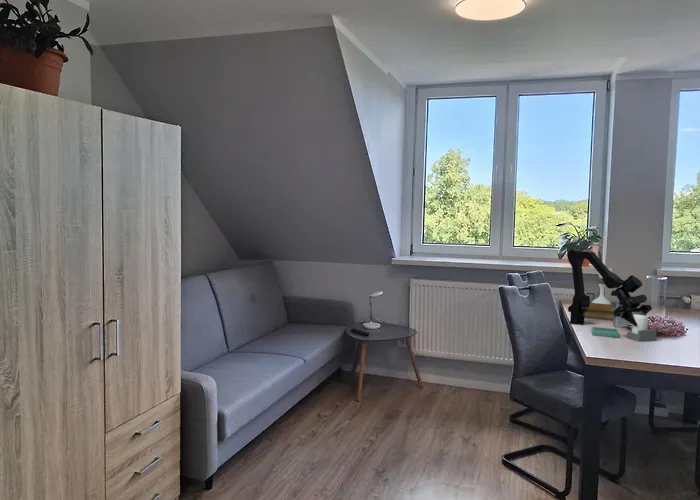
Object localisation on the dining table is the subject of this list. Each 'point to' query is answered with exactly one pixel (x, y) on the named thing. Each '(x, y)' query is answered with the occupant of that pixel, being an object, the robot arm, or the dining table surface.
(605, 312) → the diary
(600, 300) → the flower in vase
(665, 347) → the dining table surface
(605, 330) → the tray
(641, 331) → the bay
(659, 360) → the dining table surface
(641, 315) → the can
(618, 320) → the ink cartridge box
